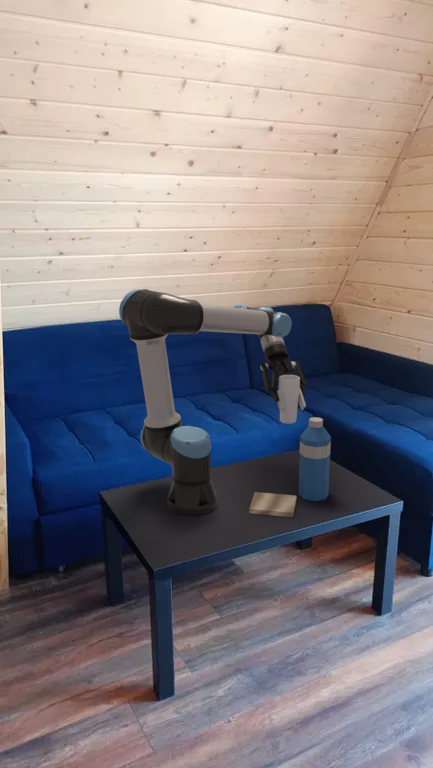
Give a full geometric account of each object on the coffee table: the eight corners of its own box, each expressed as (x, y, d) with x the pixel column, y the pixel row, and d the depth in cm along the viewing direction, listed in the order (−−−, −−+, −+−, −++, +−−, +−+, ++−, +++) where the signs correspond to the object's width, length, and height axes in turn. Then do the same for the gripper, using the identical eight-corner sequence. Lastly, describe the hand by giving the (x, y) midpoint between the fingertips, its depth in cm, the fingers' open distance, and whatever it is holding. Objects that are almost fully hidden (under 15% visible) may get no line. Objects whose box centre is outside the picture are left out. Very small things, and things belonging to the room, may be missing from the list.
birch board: (249, 513, 173) (249, 508, 172) (254, 496, 183) (254, 492, 183) (293, 517, 170) (293, 512, 169) (296, 500, 180) (296, 495, 180)
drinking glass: (300, 419, 193) (301, 375, 189) (296, 426, 187) (297, 380, 183) (280, 417, 195) (281, 373, 191) (275, 423, 189) (276, 379, 185)
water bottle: (327, 488, 188) (330, 414, 181) (329, 501, 179) (333, 425, 172) (298, 487, 189) (299, 414, 182) (299, 500, 180) (301, 424, 173)
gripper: (297, 352, 203) (316, 411, 192) (244, 356, 197) (261, 417, 186) (304, 340, 196) (325, 400, 186) (250, 344, 191) (268, 406, 180)
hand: (293, 408), depth 186 cm, fingers closed on drinking glass, 7 cm apart
